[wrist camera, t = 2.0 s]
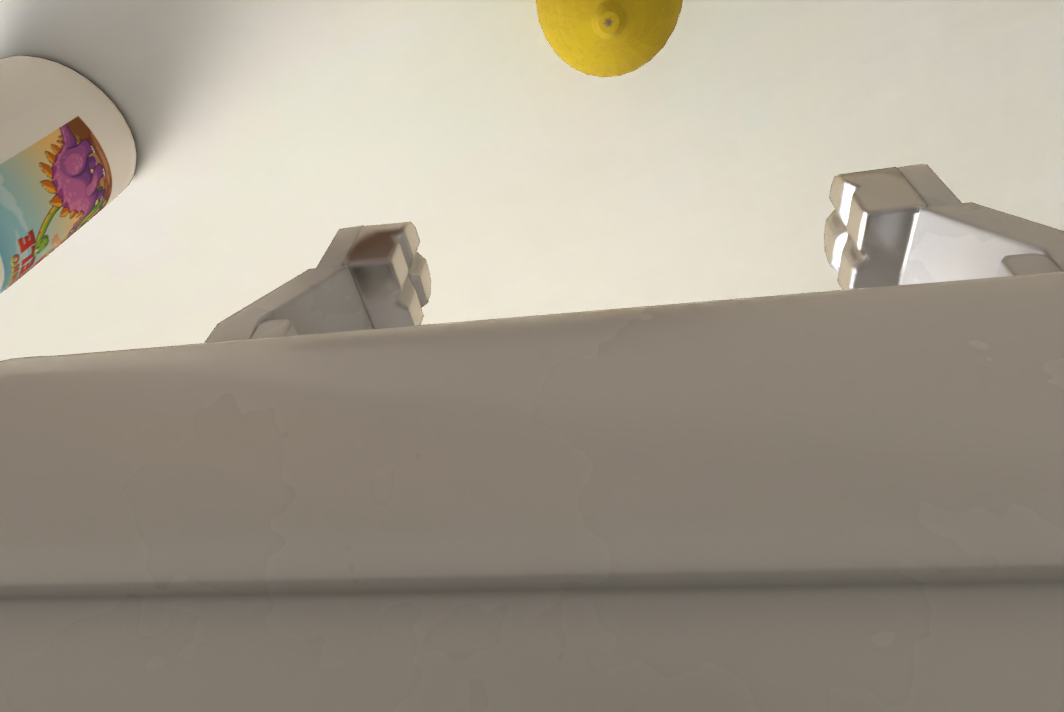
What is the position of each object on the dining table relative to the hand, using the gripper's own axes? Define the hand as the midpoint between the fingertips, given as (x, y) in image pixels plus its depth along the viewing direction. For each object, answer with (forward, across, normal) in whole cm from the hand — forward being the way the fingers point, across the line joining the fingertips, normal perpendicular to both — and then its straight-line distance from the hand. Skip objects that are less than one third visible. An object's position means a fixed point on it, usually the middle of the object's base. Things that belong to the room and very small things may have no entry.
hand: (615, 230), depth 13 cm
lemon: (+20, 0, -1) cm, 20 cm away
